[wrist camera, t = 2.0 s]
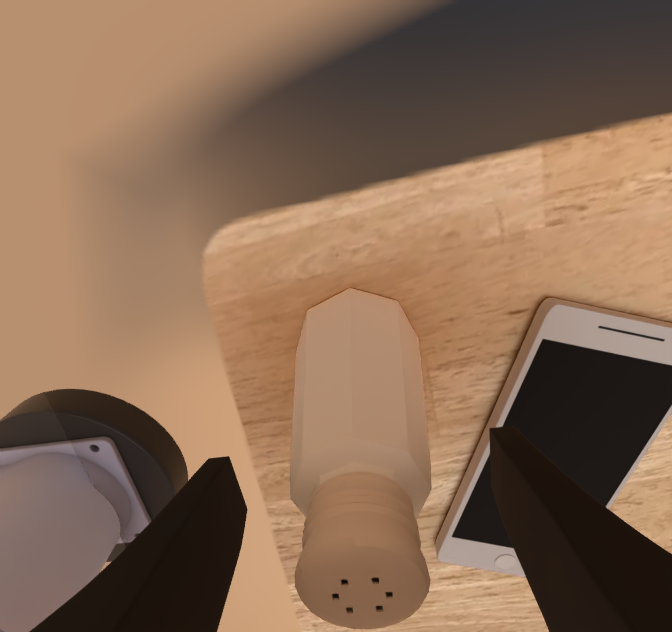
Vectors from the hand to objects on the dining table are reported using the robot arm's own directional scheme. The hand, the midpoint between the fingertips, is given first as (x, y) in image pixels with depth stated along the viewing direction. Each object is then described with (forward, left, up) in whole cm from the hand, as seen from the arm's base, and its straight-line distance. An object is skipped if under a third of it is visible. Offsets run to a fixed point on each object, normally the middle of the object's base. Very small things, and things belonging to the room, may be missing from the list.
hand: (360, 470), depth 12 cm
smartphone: (+8, -7, -8) cm, 14 cm away
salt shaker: (0, 0, -8) cm, 8 cm away
